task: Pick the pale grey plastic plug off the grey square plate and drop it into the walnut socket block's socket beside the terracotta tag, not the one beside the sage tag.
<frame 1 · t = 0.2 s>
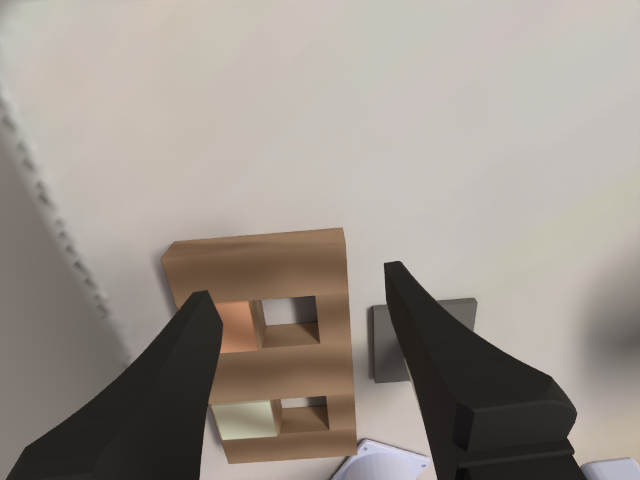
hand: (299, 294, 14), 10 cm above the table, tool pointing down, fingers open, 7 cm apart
grey square plate: (420, 340, 29), on the table
socket block: (279, 351, 29), on the table
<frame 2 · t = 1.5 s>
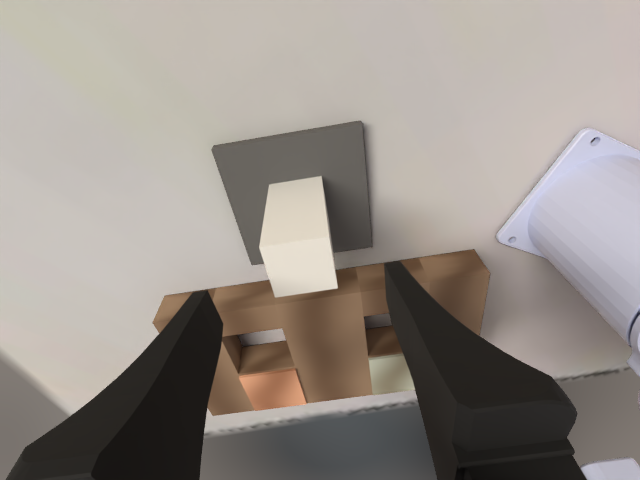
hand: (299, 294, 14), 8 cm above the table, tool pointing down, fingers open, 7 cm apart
plug: (300, 203, 20), point 1 cm above the table, touching grey square plate
grey square plate: (300, 198, 21), on the table
socket block: (327, 329, 28), on the table
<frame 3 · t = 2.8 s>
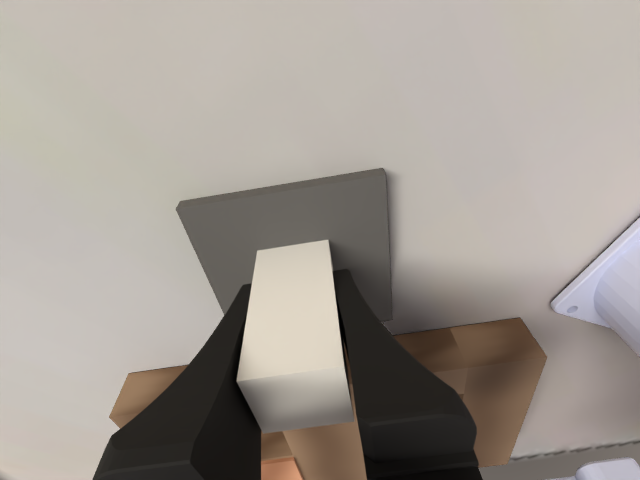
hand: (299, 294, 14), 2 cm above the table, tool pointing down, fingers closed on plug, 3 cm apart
plug: (299, 272, 15), point 1 cm above the table, touching grey square plate, gripper
grey square plate: (299, 263, 16), on the table
socket block: (333, 403, 23), on the table
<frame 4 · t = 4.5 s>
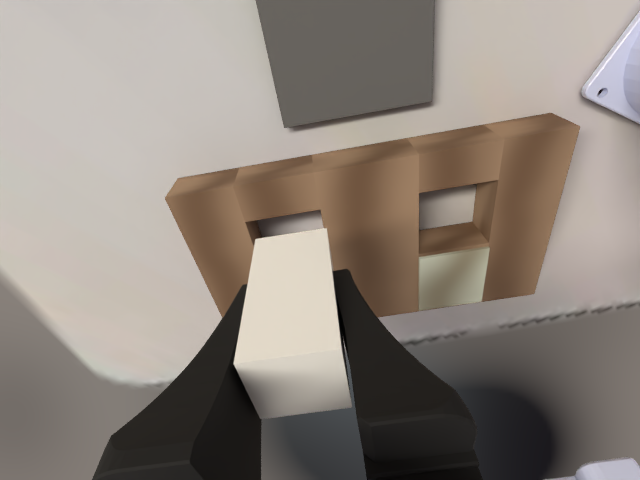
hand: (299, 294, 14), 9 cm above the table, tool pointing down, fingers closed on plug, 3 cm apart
plug: (297, 261, 15), point 8 cm above the table, touching gripper
grey square plate: (347, 28, 17), on the table
socket block: (367, 230, 24), on the table
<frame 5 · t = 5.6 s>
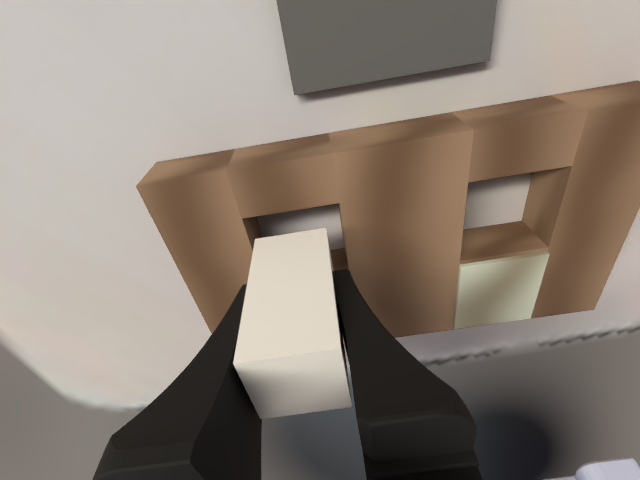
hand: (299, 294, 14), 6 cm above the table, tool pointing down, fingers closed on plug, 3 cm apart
plug: (297, 261, 15), point 4 cm above the table, touching gripper
socket block: (393, 230, 19), on the table
when the fingers open (3 cm above the table, at t = 6.4 s): plug drops 2 cm, resting in socket block.
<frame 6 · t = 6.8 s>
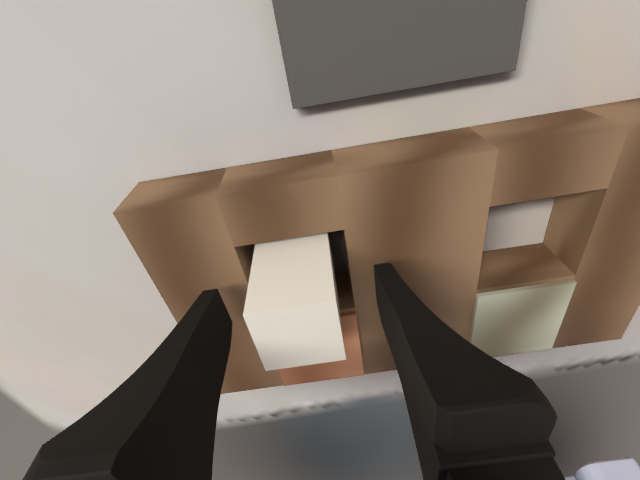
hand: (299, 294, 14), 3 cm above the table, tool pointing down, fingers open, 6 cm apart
plug: (297, 238, 17), resting in socket block
socket block: (401, 253, 17), on the table
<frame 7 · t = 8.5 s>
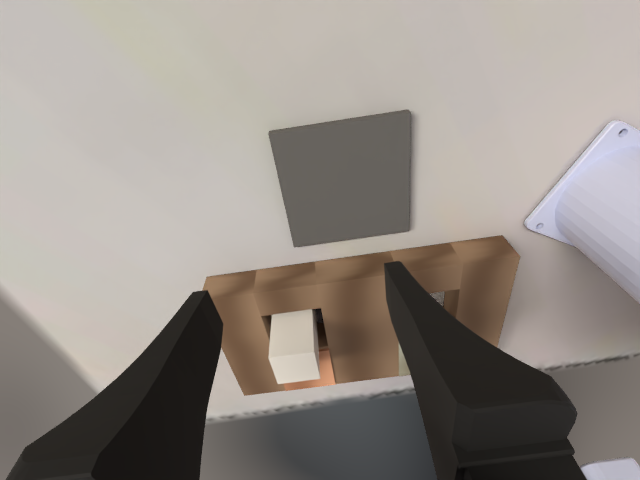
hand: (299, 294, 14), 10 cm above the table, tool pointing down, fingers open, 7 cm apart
plug: (295, 304, 28), resting in socket block
grey square plate: (344, 183, 22), on the table
socket block: (358, 312, 29), on the table
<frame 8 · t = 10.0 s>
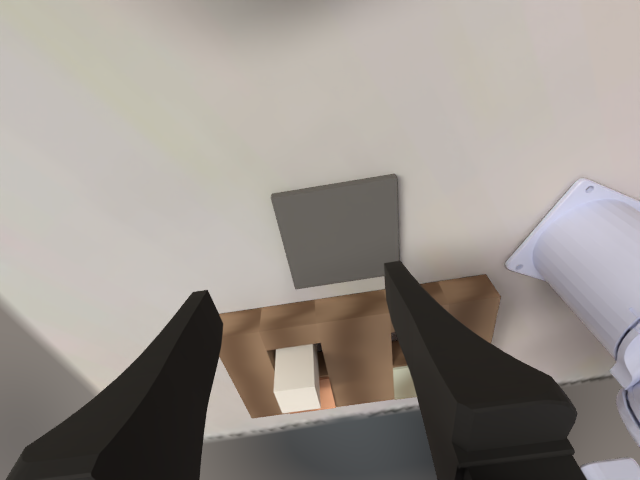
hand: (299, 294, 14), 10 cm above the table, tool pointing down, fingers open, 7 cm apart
plug: (297, 335, 31), resting in socket block
grey square plate: (340, 234, 24), on the table
socket block: (355, 341, 31), on the table
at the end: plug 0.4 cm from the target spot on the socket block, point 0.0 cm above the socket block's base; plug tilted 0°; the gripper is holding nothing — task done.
